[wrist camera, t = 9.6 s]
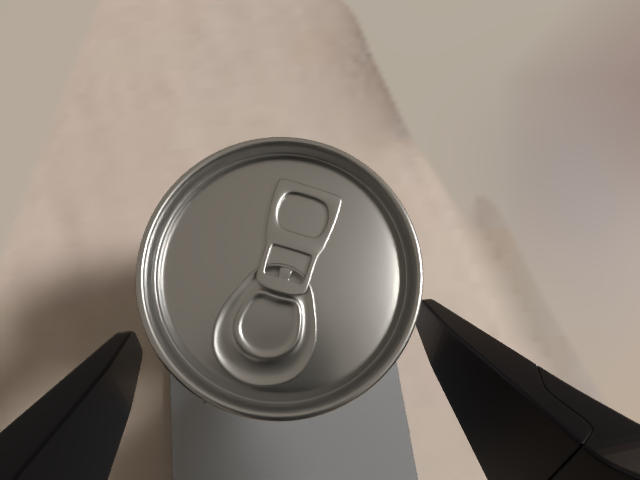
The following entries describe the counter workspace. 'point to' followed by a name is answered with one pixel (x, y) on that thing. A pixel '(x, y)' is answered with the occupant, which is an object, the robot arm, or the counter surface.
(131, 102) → the counter surface
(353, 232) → the can
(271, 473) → the board
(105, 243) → the counter surface
